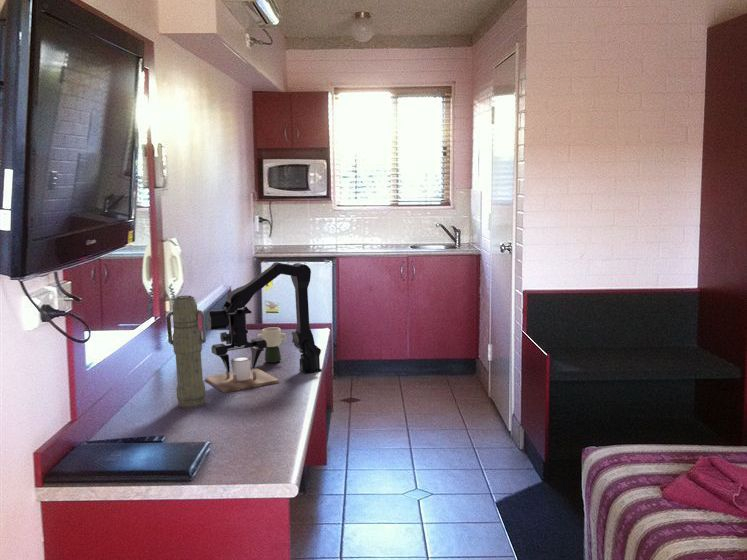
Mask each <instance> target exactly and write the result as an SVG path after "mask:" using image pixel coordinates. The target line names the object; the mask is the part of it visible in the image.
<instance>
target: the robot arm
mask: <svg viewBox="0 0 747 560" xmlns="http://www.w3.org/2000/svg"><path fill="white" fill-rule="evenodd" d="M311 274H312V269H311V268H310V266H308V265H307V264H304V263H301V262H295V263H293V264H289V263H282V262H278V261H275V262H273V263H272V264H271V265H270V266H269V267H267V268H266V269H265V270H264V271H263V272H261V273H260V274H258V275H257V276H255V278H253V279H252V280H250V281H249V282H248V283H246V284H244V285H241V286H239V287H237V288H234V289H233V290H231V291H229V292H228V293H227V294H226V300H225V302H224V304H223V305H222V307H221V308H220V309H216V310H213V309H210V310H208V311H207V317H206V318H207V319H206V326H207V328H208V330H209V331H216V330H225V329H227V327H229V329H228V333H227V332H226V331H225V332H224V331H223V332H220V334H219V335H220V342H222V343H218V344H212V345H211V353H212V354H214V355H215V356H218V357H219V358H220V359H221V360H222V363H223V365H224V367H225V370H226V371H227V372H228V373H229V372H230V371H231V370H230V369H231V367H230V366H231V365H230V357H229V356H230V355H229V354H228V351H235V350H236V351H237V350H241V349H247V348H250V352H251V368H252V369H256V365H257V362H258V360H259V358H260V355H261V353H262V352H263V351H265V349H266V348H267V342H266V340H264V339H263V338H261V337H260V338H258V337H255V338H251V340H250V341H248V333H249V329H247V314H249V315H250V314H252V310H250V309H249V307H248V306H247V305H248V303H249V302H250V301H251V300H252V298H253V297H254V296H255V294H257V292H259V291H261V290H262V288H265V286H267V285H268V284H269V283H271V282H272V281H274V280H275V279H276V278H277V277H279V276H280V275H286V276H290V278H291V279H290V280H291V283H292V284H293V287H294V291H295V292H294V293H295V294H294V295H295V310H296V312H295V313H296V315H295V316H296V328H295V331H291V336H292V340H291V343H292V344H293V345H294V347H295V348H296V349H298V351H299V353H300V358H299V371H300V372H303V373H305V374H312V373H316V372H317V373H318V372H321V371H323V368H321V362H320V361H321V360H320V356H321V353H322V349H320V347H318V346H317V345H316V344H315V339H314V335H313V332H312V330H311V327H310V314H309V313H310V312H309V293H308V292H309V290H308V289H309V288H308V287H309V285H310V282H311V276H312V275H311ZM224 342H225V344H224ZM230 373H231V372H230Z"/></svg>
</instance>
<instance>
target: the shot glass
mask: <svg viewBox="0 0 747 560" xmlns="http://www.w3.org/2000/svg"><path fill="white" fill-rule="evenodd" d="M230 364H231V369H232V373H233V375H237V381H243V380H248V379H249V378H250V369H251V358H250V357H248V356H245V357H244V356H243V357H242V356H241V357H234V358H231V359H230Z"/></svg>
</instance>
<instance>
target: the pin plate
mask: <svg viewBox="0 0 747 560" xmlns="http://www.w3.org/2000/svg"><path fill="white" fill-rule="evenodd" d="M225 372H226V373H223V374H222V373H221V374H216V375H209V376H205V377H204V378H205V379H204V380H205V381H206V382H208V383H209V384H211V385H212V386H213V387H215V388H216V387H217V389H218V390H219V389H220V390H219V391H221V392H222V391H223V392H222V393H224V392H225V393H230V392H229V391H231V392H235V391H234V390H236V391H240V389H242V390H246V389H245V388H247V389H251V388H250V387H253V388H257V386H258V387H262V385H264V386H270V385H274V383H275V384H279V383H280V379H278V378H276V377H275V376H272V375H270V374H269V373H267V372H265V371H263V370H261V369H259V368H258V367H257V368H256V367H255V368H252V369H251V368H250V378H249V379H248V380H243V381H237V375H233V372H229V373H228V372H227V370H226V371H225Z"/></svg>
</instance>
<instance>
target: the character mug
mask: <svg viewBox="0 0 747 560" xmlns="http://www.w3.org/2000/svg"><path fill="white" fill-rule="evenodd" d="M281 331H282V329H281V328H280V327H273V326H272V327H266V328H263V329H261V333H258V334H257V337H256V338H261V337H262V339H264V340H266V342H267V348H265V349H264V351H265V352H264V361H265V363H266V362H267V363H276V362H279V361H281V360H282V356H281V350H280V347H279V346H280V345H281V344H282V342H286V341H287V334H286V333H285V332H281ZM282 336H283V337H282Z"/></svg>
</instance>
